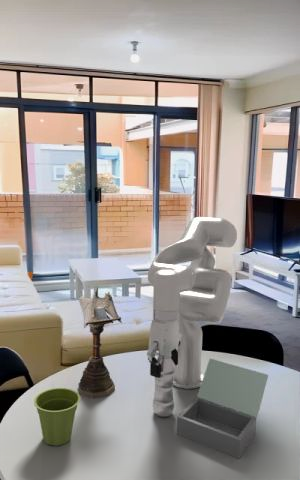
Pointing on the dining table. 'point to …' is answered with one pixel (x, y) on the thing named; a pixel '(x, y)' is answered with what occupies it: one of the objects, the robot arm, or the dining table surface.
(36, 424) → the dining table surface
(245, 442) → the grey open box
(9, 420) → the dining table surface
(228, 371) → the cover
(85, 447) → the dining table surface
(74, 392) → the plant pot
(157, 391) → the plastic bottle
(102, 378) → the ornate pedestal stand
